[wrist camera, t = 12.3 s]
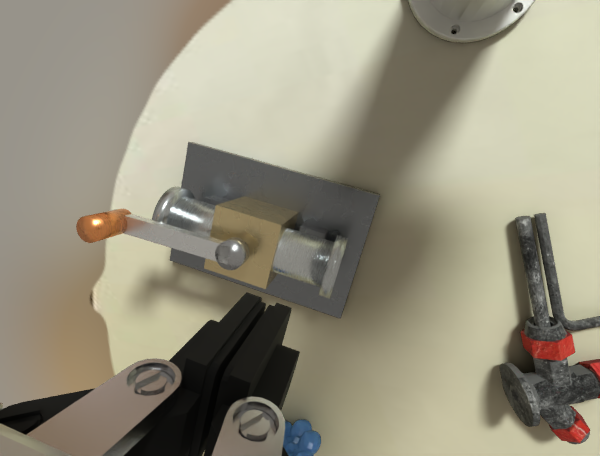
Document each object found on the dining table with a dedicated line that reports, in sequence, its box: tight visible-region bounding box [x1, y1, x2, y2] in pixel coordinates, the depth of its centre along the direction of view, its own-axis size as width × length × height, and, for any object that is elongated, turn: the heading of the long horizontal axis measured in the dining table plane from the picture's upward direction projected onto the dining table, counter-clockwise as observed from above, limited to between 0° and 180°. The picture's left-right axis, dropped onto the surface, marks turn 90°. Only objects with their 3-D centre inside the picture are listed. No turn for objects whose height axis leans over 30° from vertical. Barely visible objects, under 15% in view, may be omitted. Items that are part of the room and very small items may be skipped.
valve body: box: [152, 142, 380, 318], centre depth 37 cm, size 16×24×10 cm, turn 75°
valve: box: [500, 213, 600, 444], centre depth 35 cm, size 6×26×15 cm
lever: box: [76, 209, 249, 270], centre depth 30 cm, size 15×3×5 cm, turn 77°
